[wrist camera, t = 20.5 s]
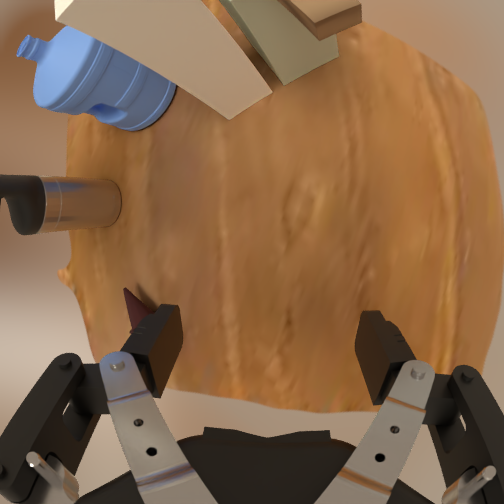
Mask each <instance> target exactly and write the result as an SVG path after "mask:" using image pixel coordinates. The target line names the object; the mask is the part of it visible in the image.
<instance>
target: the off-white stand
mask: <svg viewBox="0 0 504 504" xmlns="http://www.w3.org/2000/svg"><path fill="white" fill-rule="evenodd" d="M55 16H56V21H58V22H61V23H63V24H65V25H67V26H70V27H72V28H74V29H76V30H78V31H81V32H83V33H85V34H87V35H89V36H91V37H93V38H95V39H97V40H99V41H101V42H103V43H105V44H107V45H109V46H111V47H113V48H114V49H116V50H118V51H120V52H122V53H124V54H125V55H127V56H129V57H131V58H133V59H134V60H136V61H138V62H140V63H141V64H143V65H145V66H147V67H148V68H150V69H152V70H153V71H155V72H157V73H158V74H160V75H162V76H163V77H165V78H167V79H168V80H170V81H171V82H173V83H175V84H176V85H178V86H179V87H181V88H182V89H184V90H186V91H187V92H189V93H190V94H192V95H193V96H195V97H196V98H198V99H199V100H201V101H202V102H204V103H205V104H207V105H208V106H210V107H211V108H213V109H214V110H215V111H217V112H218V113H220V114H221V115H223V116H224V117H225V118H227V119H228V120H230V119H232V118H233V117H235V116H236V115H238V114H239V113H241V112H242V111H244V110H245V109H247V108H249V107H250V106H252V105H253V104H255V103H256V102H258V101H260V100H261V99H263V98H264V97H266V96H268V95H269V94H271V93H273V92H272V90H271V89H270V87H269V86H268V85H267V83H266V82H265V80H264V79H263V78H262V76H261V75H260V73H259V72H258V71H257V69H256V68H255V66H254V65H253V64H252V62H251V61H250V60H249V58H248V57H247V56H246V54H245V53H244V52H243V51H242V49H241V48H240V47H239V45H238V44H237V43H236V42H235V40H234V39H233V38H232V37H231V35H230V34H229V33H228V32H227V30H226V29H225V28H224V27H223V25H222V24H221V23H220V22H219V21H218V20H217V18H216V17H215V16H214V15H213V14H212V12H211V11H210V10H209V9H208V8H207V7H206V6H205V5H204V3H203V2H202V1H201V0H55Z"/></svg>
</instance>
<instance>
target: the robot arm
mask: <svg viewBox="0 0 504 504" xmlns="http://www.w3.org/2000/svg"><path fill="white" fill-rule="evenodd" d="M3 197H4V198H5V199H6V202H7V204H8V207H9V211H10V216H11V220H12V223H13V226H14V228H15V229H16V231H17V232H18V233H19V234H21V235H32V234H40V233H49V232H57V231H66V230H76V229H86V228H97V227H108V226H110V225H112V224H113V223H114V222H115V221H116V219H117V218H118V216H119V213H120V209H121V195H120V191H119V189H118V187H117V185H116V184H115V183H114V182H112V181H110V180H100V179H89V178H74V177H57V176H29V175H28V176H26V175H0V203H1V198H3ZM182 344H183V330H182V323H181V316H180V309H179V306H178V305H170V304H161V305H160V306H159V308H158V309H157V311H156V312H155V314H149V315H147V316H146V317H144V318H143V319H141V321H140V322H139V324H138V325H137V328H135V330H134V331H133V333H132V334H131V335H130V337H129V338H128V340H127V341H126V343H125V344H124V346H123V347H122V349H121V350H120V351H119V352H113V353H110V354H108V355H106V356H105V357H103V358H102V360H101V361H100V363H96V364H83V363H82V361H81V359H80V357H79V356H78V355H77V354H74V353H65V354H61V355H59V356H57V357H56V358H55V359H54V360H53V361H52V362H51V364H50V365H49V366H48V368H47V369H46V370H45V372H44V373H43V374H42V376H41V377H40V379H39V380H38V381H37V382H36V384H35V385H34V387H33V388H32V389H31V391H30V393H29V394H28V395H27V397H26V398H25V399H24V401H23V402H22V404H21V405H20V407H19V408H18V410H17V411H16V413H15V414H14V416H13V417H12V419H11V420H10V422H9V424H8V425H7V427H6V428H5V430H4V432H3V433H2V435H1V436H0V494H1V495H2V496H3V497H4V498H5V499H6V500H7V501H9V502H10V503H11V504H435V503H433V502H432V501H430V500H428V499H427V498H426V497H424V496H422V495H421V494H419V493H418V492H417V491H415V490H414V489H412V488H411V487H409V486H408V485H406V484H405V483H404V482H402V481H401V480H400V479H398V477H399V474H400V472H401V471H402V469H403V466H404V464H405V462H406V460H407V458H408V456H409V453H410V451H411V449H412V447H413V444H414V442H415V439H416V437H417V435H418V432H419V430H420V427H421V425H422V424H427V425H428V428H429V431H430V434H431V437H432V440H433V443H434V446H435V449H436V453H437V456H438V459H439V462H440V466H441V469H442V473H443V476H444V480H445V484H446V487H447V489H446V490H445V492H444V494H443V496H442V504H504V415H503V413H502V411H501V409H500V407H499V406H498V404H497V402H496V400H495V399H494V397H493V395H492V393H491V392H490V390H489V388H488V387H487V385H486V383H485V382H484V380H483V378H482V377H481V375H480V373H479V372H478V371H477V370H476V369H474V368H473V367H471V366H467V365H460V366H457V367H456V368H455V369H454V370H453V372H452V374H451V375H444V374H435V372H434V370H433V368H432V367H431V366H430V365H429V364H427V363H426V362H423V361H420V360H417V359H416V357H415V356H414V354H413V352H412V351H411V349H410V347H409V345H408V344H407V342H405V339H404V337H403V336H402V334H401V332H400V330H399V329H398V327H397V326H396V325H394V324H393V323H392V322H390V321H386V320H385V319H384V317H383V315H382V314H381V312H380V311H379V310H373V311H363V312H362V313H361V317H360V321H359V326H358V330H357V334H356V339H355V352H356V355H357V358H358V361H359V364H360V367H361V370H362V373H363V376H364V379H365V382H366V385H367V388H368V391H369V394H370V397H371V400H372V403H373V405H381V404H382V406H381V408H380V410H379V412H378V413H377V415H376V417H375V419H374V420H373V422H372V424H371V426H370V427H369V429H368V430H367V432H366V434H365V435H364V437H363V439H362V440H361V442H360V443H359V445H358V446H357V447H355V446H353V445H351V444H349V443H346V442H344V441H341V440H337V439H331V437H330V430H324V431H302V432H301V431H300V432H295V433H291V434H286V435H280V436H275V437H269V438H266V437H261V436H257V435H253V434H249V433H245V432H242V431H238V430H233V429H221V428H212V427H204V432H203V435H197V436H191V437H187V438H184V439H181V440H179V441H177V442H176V441H175V439H174V437H173V435H172V433H171V432H170V430H169V428H168V426H167V424H166V422H165V420H164V419H163V417H162V415H161V413H160V411H159V409H158V407H157V405H156V403H155V401H154V399H153V397H154V398H161V396H162V393H163V391H164V388H165V386H166V384H167V381H168V379H169V376H170V374H171V371H172V369H173V367H174V364H175V362H176V359H177V357H178V355H179V352H180V350H181V348H182ZM68 403H70V404H69V406H68V407H67V409H66V411H65V413H64V414H63V411H64V409H65V408H66V406H67V404H68ZM101 414H110V415H111V417H112V421H113V424H114V427H115V430H116V433H117V435H118V438H119V441H120V444H121V447H122V449H123V452H124V454H125V457H126V459H127V462H128V464H129V467H130V469H131V470H129V471H128V472H126V473H124V474H122V475H121V476H119V477H118V478H115V479H114V480H112V481H110V482H108V483H106V484H104V485H103V486H101V487H99V488H97V489H95V490H93V491H91V492H89V493H87V494H85V495H83V496H82V497H80V498H79V494H78V492H79V484H78V481H77V479H76V478H75V477H74V476H75V474H76V471H77V468H78V466H79V464H80V462H81V459H82V457H83V454H84V452H85V449H86V448H87V445H88V443H89V441H90V438H91V436H92V434H93V432H94V429H95V427H96V425H97V423H98V421H99V419H100V416H101ZM461 415H462V417H463V419H464V422H465V424H466V431H465V429H464V427H463V424H462V422H461V420H460V416H461ZM78 498H79V499H78Z"/></svg>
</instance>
